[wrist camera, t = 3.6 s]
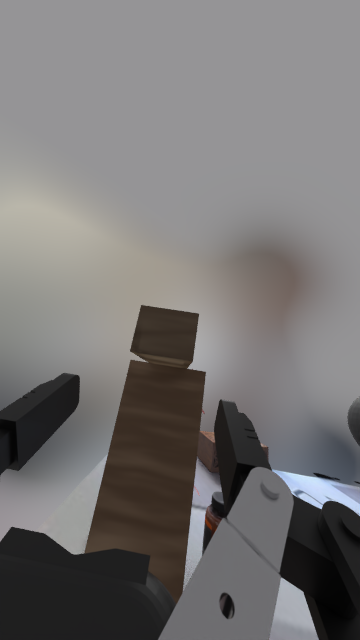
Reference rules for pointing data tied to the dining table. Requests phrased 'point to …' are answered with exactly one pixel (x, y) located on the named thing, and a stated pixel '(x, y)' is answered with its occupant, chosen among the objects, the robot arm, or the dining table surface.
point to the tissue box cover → (212, 450)
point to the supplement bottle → (213, 518)
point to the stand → (152, 470)
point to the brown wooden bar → (165, 336)
